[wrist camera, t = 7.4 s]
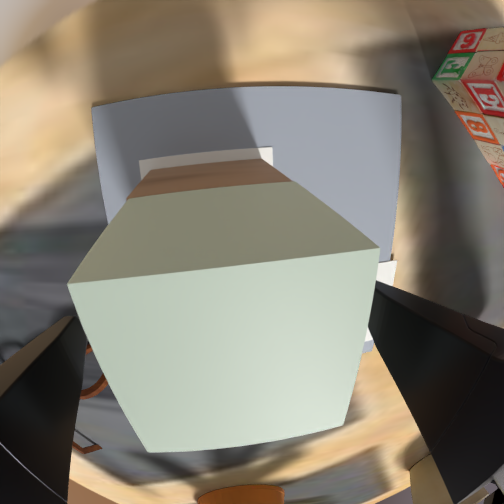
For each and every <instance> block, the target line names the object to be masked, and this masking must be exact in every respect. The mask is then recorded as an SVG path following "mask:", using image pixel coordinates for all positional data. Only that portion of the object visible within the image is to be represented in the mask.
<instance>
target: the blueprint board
mask: <svg viewBox="0 0 504 504" xmlns="http://www.w3.org/2000/svg"><path fill="white" fill-rule="evenodd" d="M91 109H92V120H93V130H94V139H95V148H96V155H97V162H98V169H99V176H100V182H101V188H102V194H103V200H104V205H105V210H106V215H107V220H108V225H109V223H110V222H111V221H112V219H113V218H114V217H115V215H116V214H117V213H118V212H119V210H120V209H121V208H122V206H123V205H124V204H125V203H126V198H127V197H128V196H129V194H130V193H131V192H132V191H133V190H134V188H135V187H136V186H137V185H138V184H139V183H140V181H141V180H142V179H143V178H144V177H145V176H146V175H147V173H148V172H149V171H150V170H154V169H161V168H169V167H177V166H185V165H194V164H203V163H213V162H224V161H235V160H248V159H263V160H264V161H266V162H267V163H269V164H270V165H271V166H273V167H274V168H276V169H277V170H278V171H280V172H281V173H282V174H284V175H285V176H286V177H288V178H289V179H291V180H292V181H296V182H297V183H298V184H300V185H301V186H302V187H304V188H305V189H306V190H308V191H309V192H310V193H312V194H313V195H314V196H316V197H317V198H318V199H320V200H321V201H322V202H324V203H325V204H326V205H328V206H329V207H330V208H331V209H333V210H334V211H335V212H337V213H338V214H339V215H340V216H342V217H343V218H344V219H346V220H347V221H348V222H349V223H351V224H352V225H353V226H354V227H356V228H357V229H358V230H359V231H361V232H362V233H363V234H364V235H365V236H367V237H368V238H369V239H370V240H372V241H373V242H374V243H375V244H376V245H378V246H379V247H380V255H379V263H378V270H377V276H376V280H377V281H380V282H382V283H385V284H388V285H390V286H393V281H394V276H395V270H396V264H397V260H391V261H390V257H391V251H392V243H393V236H394V228H395V219H396V210H397V199H398V187H399V173H400V155H401V95H396V94H389V93H381V92H373V91H364V90H353V89H341V88H325V87H299V86H261V87H234V88H218V89H206V90H195V91H186V92H177V93H169V94H162V95H155V96H148V97H142V98H136V99H131V100H125V101H120V102H115V103H110V104H105V105H101V106H96V107H92V108H91ZM373 344H374V341H373V338H372V336H371V334H370V331H369V329H368V327H367V332H366V337H365V342H364V346H363V351H362V353H366V352H370V351H372V348H373Z"/></svg>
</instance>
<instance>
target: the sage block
mask: <svg viewBox="0 0 504 504" xmlns="http://www.w3.org/2000/svg"><path fill="white" fill-rule="evenodd" d="M379 255H380V247H379V246H378V245H376V244H375V243H374V242H373V241H372V240H370V239H369V238H368V237H367V236H365V235H364V234H363V233H362V232H361V231H359V230H358V229H357V228H356V227H354V226H353V225H352V224H351V223H349V222H348V221H347V220H346V219H344V218H343V217H342V216H340V215H339V214H338V213H337V212H335V211H334V210H333V209H331V208H330V207H329V206H328V205H326V204H325V203H324V202H322V201H321V200H320V199H318V198H317V197H316V196H314V195H313V194H312V193H310V192H309V191H308V190H306V189H305V188H304V187H302V186H301V185H300V184H298V183H297V182H296V181H291V182H276V183H263V184H251V185H239V186H229V187H218V188H209V189H199V190H191V191H182V192H174V193H166V194H158V195H151V196H144V197H136V198H130V199H128V200H127V201H126V203H125V204H124V205H123V206H122V208H121V209H120V210H119V212H118V213H117V214H116V215H115V217H114V218H113V219H112V221H111V222H110V223H109V225H108V226H107V227H106V229H105V230H104V231H103V233H102V234H101V235H100V237H99V238H98V240H97V241H96V242H95V244H94V245H93V246H92V248H91V249H90V251H89V252H88V254H87V255H86V256H85V258H84V259H83V261H82V262H81V264H80V265H79V267H78V268H77V270H76V271H75V273H74V274H73V276H72V277H71V279H70V280H69V282H68V283H67V285H68V288H69V291H70V294H71V297H72V299H73V302H74V305H75V308H76V310H77V313H78V315H79V318H80V321H81V323H82V326H83V328H84V331H85V333H86V335H87V338H88V340H89V342H90V345H91V347H92V349H93V351H94V354H95V356H96V358H97V360H98V362H99V365H100V367H101V369H102V371H103V373H104V375H105V377H106V379H107V381H108V383H109V385H110V387H111V389H112V391H113V393H114V395H115V397H116V399H117V400H118V402H119V404H120V406H121V408H122V410H123V411H124V413H125V415H126V417H127V418H128V420H129V422H130V424H131V425H132V427H133V429H134V430H135V432H136V434H137V435H138V437H139V439H140V440H141V442H142V444H143V445H144V447H145V448H146V450H147V451H148V452H182V451H198V450H210V449H220V448H229V447H237V446H245V445H252V444H258V443H265V442H271V441H276V440H282V439H287V438H292V437H297V436H301V435H306V434H310V433H314V432H319V431H323V430H327V429H331V428H334V427H338V426H342V425H343V423H344V420H345V416H346V413H347V410H348V406H349V403H350V399H351V395H352V392H353V388H354V384H355V380H356V376H357V372H358V368H359V364H360V360H361V355H362V351H363V346H364V342H365V337H366V332H367V327H368V322H369V317H370V312H371V306H372V301H373V295H374V289H375V283H376V276H377V270H378V263H379Z"/></svg>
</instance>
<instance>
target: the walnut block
mask: <svg viewBox="0 0 504 504" xmlns="http://www.w3.org/2000/svg"><path fill="white" fill-rule="evenodd" d="M291 181H292V180H291V179H289V178H288V177H286V176H285V175H284V174H282V173H281V172H280V171H278V170H277V169H276V168H274V167H273V166H271V165H270V164H269V163H267V162H266V161H264V160H263V159H248V160H235V161H224V162H213V163H203V164H194V165H185V166H177V167H169V168H161V169H154V170H150V171H149V172H148V173H147V175H146V176H145V177H144V178H143V179H142V180H141V181H140V183H139V184H138V185H137V186H136V187H135V188H134V190H133V191H132V192H131V193H130V194H129V196H128V197H127V198H126V201H127V200H128V199H130V198H136V197H144V196H151V195H158V194H166V193H174V192H182V191H191V190H199V189H209V188H218V187H229V186H239V185H251V184H263V183H276V182H291Z"/></svg>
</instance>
